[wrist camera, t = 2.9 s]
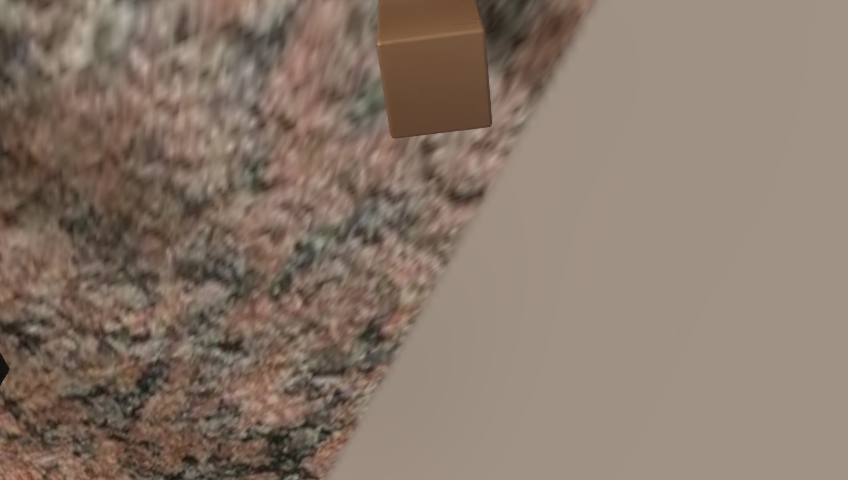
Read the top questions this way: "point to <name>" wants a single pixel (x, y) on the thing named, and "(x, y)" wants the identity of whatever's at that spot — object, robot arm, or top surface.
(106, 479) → the top surface
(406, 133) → the brown l-shaped piece
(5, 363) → the robot arm
